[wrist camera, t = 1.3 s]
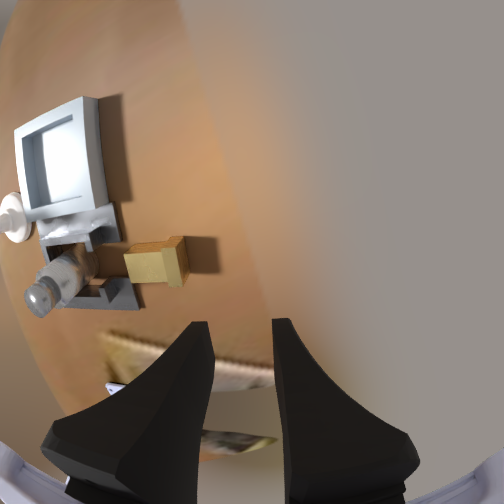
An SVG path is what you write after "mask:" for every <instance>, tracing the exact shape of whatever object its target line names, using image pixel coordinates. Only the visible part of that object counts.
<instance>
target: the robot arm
mask: <svg viewBox="0 0 504 504" xmlns="http://www.w3.org/2000/svg"><path fill="white" fill-rule="evenodd" d="M272 334H273V355H274V377H275V385H276V392H277V398H278V404H279V411H280V417H281V424H282V432H283V453H284V480H285V481H284V482H285V504H504V448H502V449H501V450H500V451H498V452H497V453H495V454H494V455H492V456H491V457H489V458H488V459H486V460H485V461H484V462H482V463H481V464H480V465H479V466H478V467H477V468H475V470H474V471H472V472H470V473H469V474H467V475H465V476H463V477H461V478H460V479H458V480H456V481H454V482H452V483H450V484H448V485H446V486H444V487H442V488H440V489H437V490H435V491H433V492H431V493H429V494H426V495H424V496H421V497H419V498H416V499H414V500H411V501H408V502H406V503H405V500H404V496H403V493H404V492H405V491H406V488H405V484H404V481H405V480H406V478H408V477H409V476H410V475H411V474H412V473H413V472H414V471H415V470H416V469H417V467H418V466H419V464H420V459H419V456H418V453H417V450H416V448H415V446H414V445H413V443H412V441H411V439H410V437H409V436H408V434H407V433H405V432H403V431H401V430H399V429H397V428H395V427H393V426H391V425H389V424H387V423H386V422H384V421H383V420H381V419H380V418H378V417H376V416H375V415H373V414H372V413H370V412H369V411H368V410H366V409H365V408H364V407H362V406H361V405H360V404H358V403H357V402H356V401H355V400H353V399H352V398H350V396H348V395H347V394H346V393H345V392H344V391H343V390H342V389H341V388H340V387H339V386H338V385H337V384H335V382H334V381H333V380H332V379H331V378H330V377H329V376H328V375H327V374H326V373H325V372H324V371H323V369H322V368H321V367H320V366H319V365H318V364H317V362H316V361H315V359H314V358H313V357H312V356H311V354H310V353H309V351H308V350H307V348H306V347H305V345H304V344H303V343H302V341H301V339H300V338H299V336H298V334H297V332H296V331H295V329H294V327H293V325H292V322H291V320H290V319H289V318H279V319H272ZM214 369H215V355H214V351H213V346H212V342H211V337H210V333H209V328H208V323H207V321H201V322H191V323H190V324H189V325H188V327H187V328H186V329H185V330H184V331H183V332H182V333H181V334H180V336H179V337H178V338H177V339H176V340H175V341H174V342H173V343H172V344H171V345H170V347H169V348H168V349H167V350H166V351H165V352H164V353H163V354H162V355H161V356H160V357H159V358H158V359H157V360H156V361H155V362H154V363H153V364H152V365H151V366H150V367H148V368H147V369H146V370H145V371H144V372H143V373H142V374H140V375H139V376H138V377H137V378H135V379H134V380H133V381H132V382H130V383H129V384H128V385H119V384H113V383H107V384H106V388H107V389H108V391H109V393H110V394H111V396H109V397H108V398H106V399H104V400H103V401H101V402H99V403H97V404H95V405H93V406H91V407H89V408H87V409H85V410H83V411H80V412H78V413H75V414H73V415H70V416H67V417H65V418H62V419H59V420H56V421H54V423H53V424H52V426H51V428H50V430H49V432H48V434H47V435H46V438H45V439H44V441H43V443H42V445H41V447H40V448H41V451H42V453H43V455H44V456H45V457H46V458H47V459H48V460H49V461H51V462H52V463H53V464H54V465H55V466H57V467H58V468H59V469H60V470H62V471H63V472H64V473H65V474H67V475H68V477H67V480H66V484H64V483H62V482H60V481H59V480H56V479H55V478H53V477H51V476H49V475H47V474H46V473H44V472H42V471H40V470H38V469H37V468H35V467H33V466H32V465H30V464H29V463H27V462H26V461H24V459H23V458H22V457H20V456H19V455H18V454H17V453H16V452H15V451H13V450H12V449H11V448H9V447H8V446H7V445H5V444H4V443H2V442H1V441H0V499H1V500H2V501H3V502H4V503H5V504H197V482H198V481H197V480H198V464H199V452H200V442H201V433H202V428H203V423H204V419H205V414H206V410H207V406H208V402H209V397H210V393H211V389H212V384H213V379H214Z"/></svg>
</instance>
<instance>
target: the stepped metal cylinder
mask: <svg viewBox="0 0 504 504" xmlns="http://www.w3.org/2000/svg"><path fill="white" fill-rule="evenodd" d="M98 271H99V261H98V258H97V255H96V254H95V252H94V251H93V252H87V250H86V246H85V244H82V243H79V244H76V245H74V246H73V247H71V248H70V249H68V250H67V251H65V252H64V253H63V254H61V255H60V256H58V257H57V258H56V259H54V260H53V261H51V262H50V263H49V264H47V265H46V266H45V267H43V268H42V269H40V270H39V271H38V272H37V274H36V282H35V283H34V284H33V285H31V286H30V287H29V288H28V289H27V290H25V293H24V298H25V302H26V304H27V306H28V308H29V309H30V310H31V312H32V313H33V314H34V315H36V316H37V317H40V318H43V317H45V316H46V315H47V314H48V313H49V312H50V311H51V310H52V309H53V308H56V309H61V308H63V307H64V306H65V305H66V304H67V303H68V302H69V301H70V300H71V299H72V298H73V297H74V296H75V295H76V294H77V293H78V292H79V291H80V290H81V289H82V288H83V287H84V286H85V285H86V284H87V283H88V282H90V281H91V280H92V279H93V278H94V277H95V276H96V275H97V273H98Z"/></svg>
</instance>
